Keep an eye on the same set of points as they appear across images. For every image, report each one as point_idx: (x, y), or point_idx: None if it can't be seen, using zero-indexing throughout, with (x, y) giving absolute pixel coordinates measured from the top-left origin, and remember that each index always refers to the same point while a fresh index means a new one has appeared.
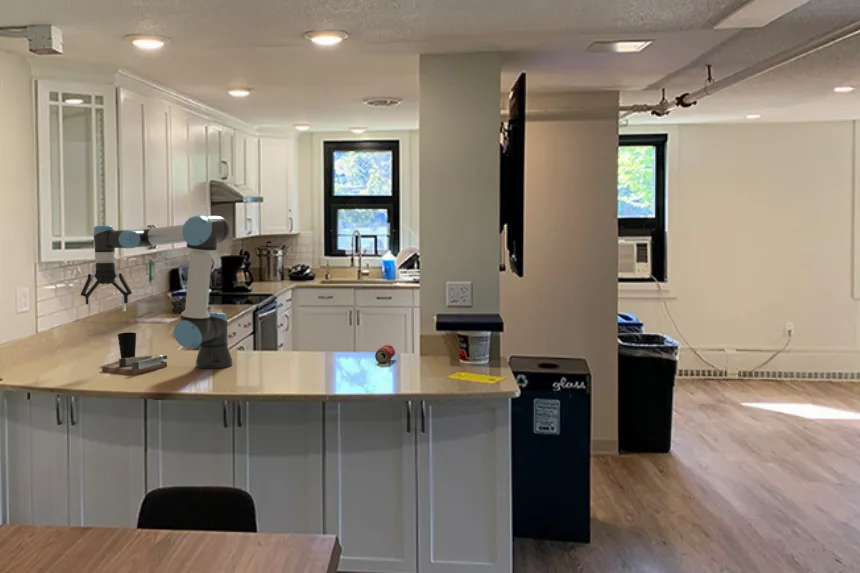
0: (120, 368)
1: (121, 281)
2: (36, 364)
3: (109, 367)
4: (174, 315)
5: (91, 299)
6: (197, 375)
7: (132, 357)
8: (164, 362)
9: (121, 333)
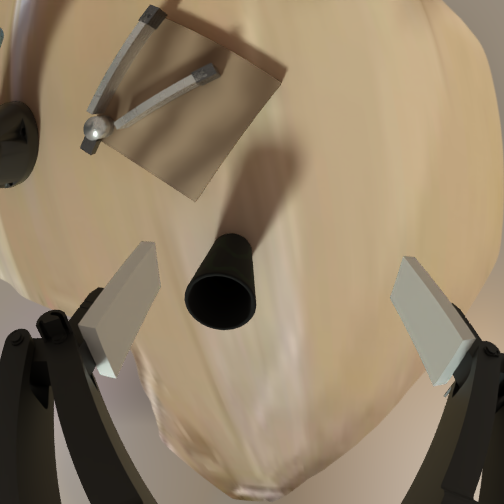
0: (209, 41)
1: (14, 494)
2: (459, 251)
3: (251, 63)
4: (243, 499)
5: (429, 359)
6: (31, 34)
7: (169, 91)
8: None
9: (245, 319)
